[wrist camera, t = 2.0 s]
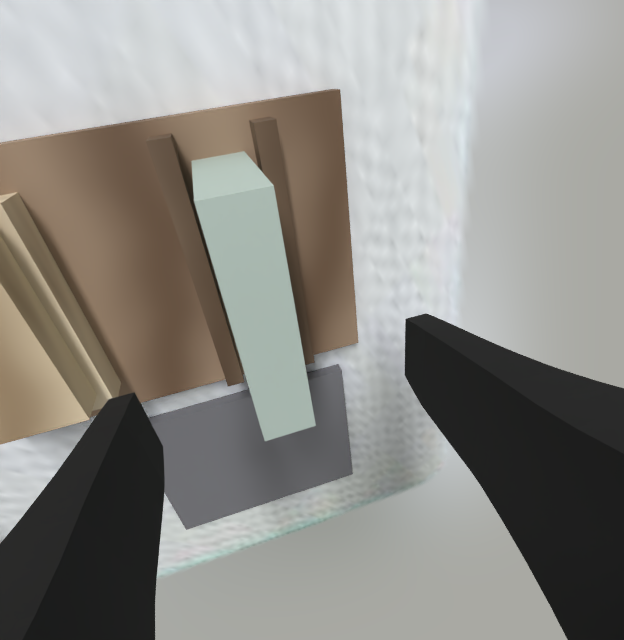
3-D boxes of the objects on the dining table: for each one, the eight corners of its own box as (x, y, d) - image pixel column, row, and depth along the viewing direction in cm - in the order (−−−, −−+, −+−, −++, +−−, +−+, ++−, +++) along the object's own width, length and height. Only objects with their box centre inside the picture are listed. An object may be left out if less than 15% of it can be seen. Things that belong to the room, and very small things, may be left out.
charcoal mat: (186, 521, 26) (186, 529, 26) (130, 423, 21) (128, 431, 20) (349, 467, 28) (352, 473, 28) (338, 364, 23) (341, 370, 22)
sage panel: (244, 349, 19) (264, 441, 14) (191, 160, 14) (194, 201, 9) (283, 339, 20) (315, 425, 15) (244, 151, 15) (273, 185, 10)
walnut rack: (10, 425, 19) (-8, 461, 17) (-198, 174, 12) (-264, 190, 10) (351, 332, 22) (366, 355, 20) (331, 89, 15) (351, 89, 13)
